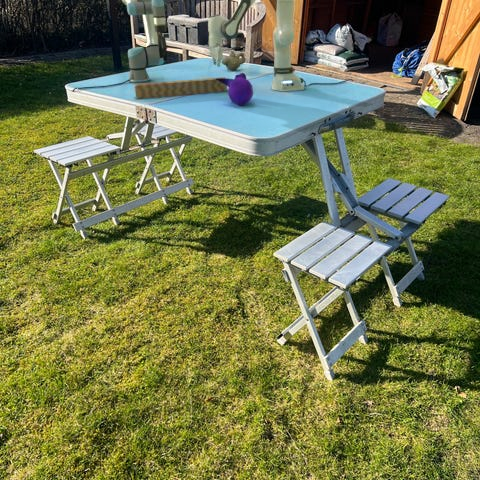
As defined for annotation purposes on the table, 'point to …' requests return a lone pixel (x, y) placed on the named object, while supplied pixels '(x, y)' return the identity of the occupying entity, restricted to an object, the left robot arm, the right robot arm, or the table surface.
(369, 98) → the table surface
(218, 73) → the table surface
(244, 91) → the toy
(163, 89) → the bar
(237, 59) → the teapot
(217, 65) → the right robot arm
